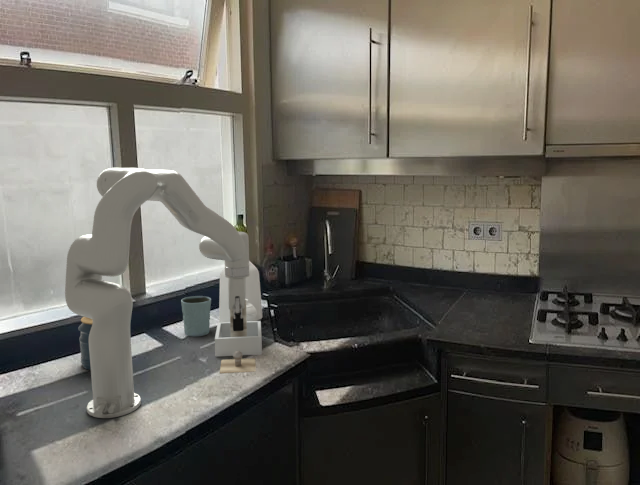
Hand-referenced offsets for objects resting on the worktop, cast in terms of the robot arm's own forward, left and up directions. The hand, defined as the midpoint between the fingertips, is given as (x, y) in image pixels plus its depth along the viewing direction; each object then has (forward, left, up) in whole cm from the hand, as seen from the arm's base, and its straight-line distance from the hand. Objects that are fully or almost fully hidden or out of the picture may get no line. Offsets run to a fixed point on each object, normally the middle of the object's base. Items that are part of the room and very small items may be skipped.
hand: (238, 327), depth 170 cm
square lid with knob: (-16, 0, -8) cm, 18 cm away
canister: (-5, +40, -8) cm, 41 cm away
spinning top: (+17, -2, -8) cm, 19 cm away
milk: (+32, 0, -8) cm, 33 cm away
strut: (0, 0, -5) cm, 5 cm away
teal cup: (+20, +15, -8) cm, 26 cm away
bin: (0, 0, -8) cm, 8 cm away
